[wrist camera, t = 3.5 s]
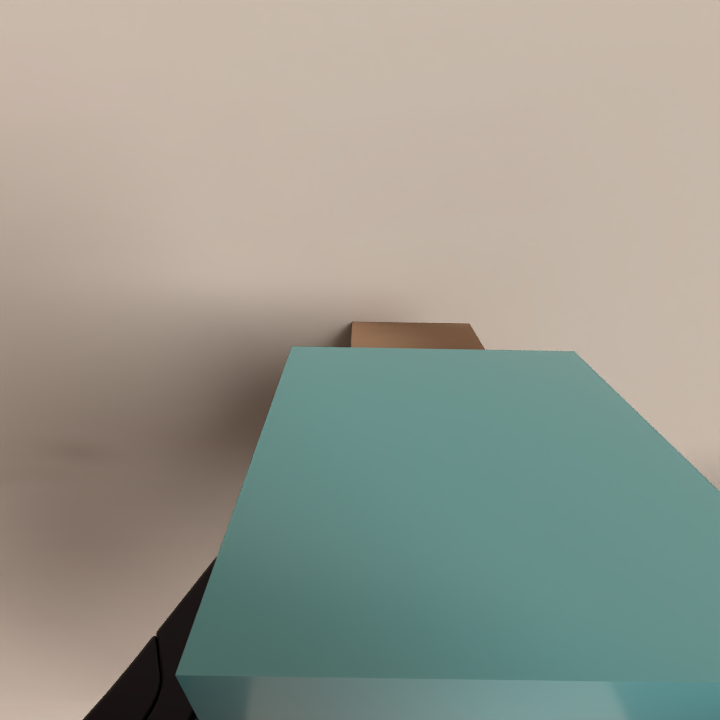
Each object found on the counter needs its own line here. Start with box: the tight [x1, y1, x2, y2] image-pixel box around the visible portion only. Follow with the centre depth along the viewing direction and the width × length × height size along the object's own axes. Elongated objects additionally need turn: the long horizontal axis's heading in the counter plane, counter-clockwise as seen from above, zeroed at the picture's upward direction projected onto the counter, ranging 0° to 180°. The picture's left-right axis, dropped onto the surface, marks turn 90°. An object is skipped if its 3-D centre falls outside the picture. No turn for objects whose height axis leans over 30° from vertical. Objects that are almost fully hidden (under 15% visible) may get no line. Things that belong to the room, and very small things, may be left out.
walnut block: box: [351, 322, 485, 350], centre depth 12 cm, size 4×4×4 cm
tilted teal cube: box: [175, 346, 720, 720], centre depth 7 cm, size 6×6×6 cm
